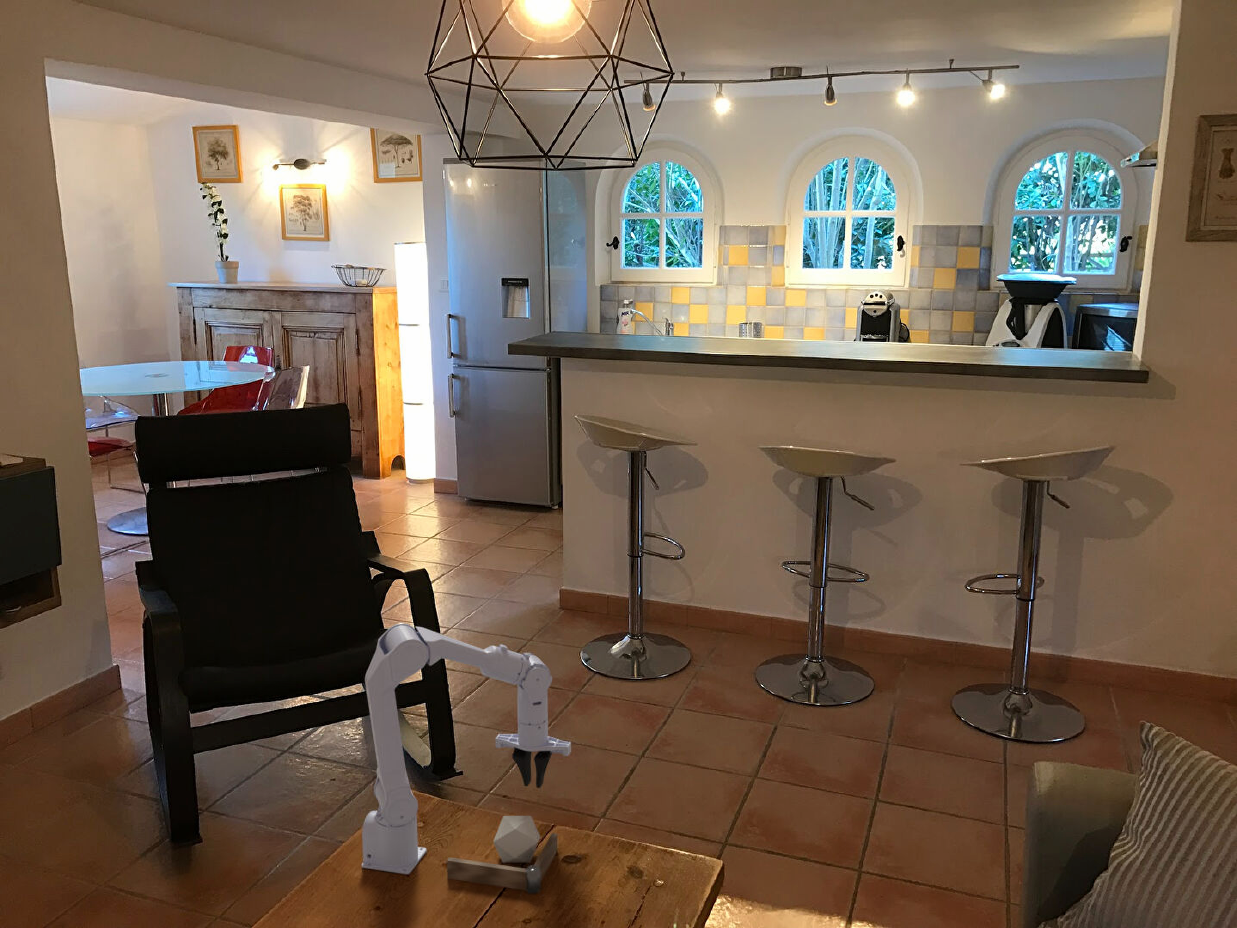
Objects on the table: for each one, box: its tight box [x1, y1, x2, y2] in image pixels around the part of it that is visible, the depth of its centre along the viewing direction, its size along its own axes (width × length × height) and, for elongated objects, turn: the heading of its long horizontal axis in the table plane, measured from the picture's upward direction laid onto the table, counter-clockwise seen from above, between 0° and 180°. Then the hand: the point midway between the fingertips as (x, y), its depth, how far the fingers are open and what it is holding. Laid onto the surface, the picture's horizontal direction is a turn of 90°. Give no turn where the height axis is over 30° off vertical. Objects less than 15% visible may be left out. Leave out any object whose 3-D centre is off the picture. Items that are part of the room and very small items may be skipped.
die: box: [493, 815, 541, 864], centre depth 185 cm, size 8×9×10 cm
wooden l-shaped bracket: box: [446, 832, 558, 895], centre depth 183 cm, size 17×14×4 cm
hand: (533, 784), depth 193 cm, fingers closed
